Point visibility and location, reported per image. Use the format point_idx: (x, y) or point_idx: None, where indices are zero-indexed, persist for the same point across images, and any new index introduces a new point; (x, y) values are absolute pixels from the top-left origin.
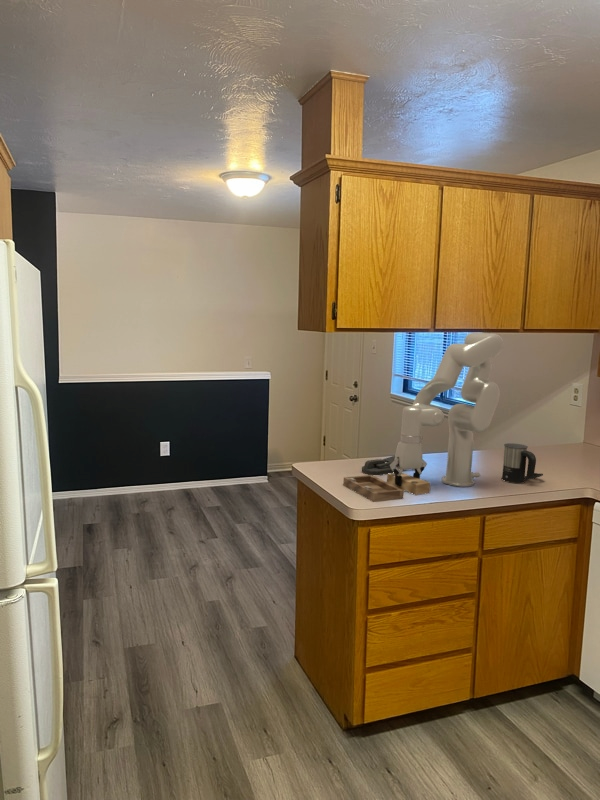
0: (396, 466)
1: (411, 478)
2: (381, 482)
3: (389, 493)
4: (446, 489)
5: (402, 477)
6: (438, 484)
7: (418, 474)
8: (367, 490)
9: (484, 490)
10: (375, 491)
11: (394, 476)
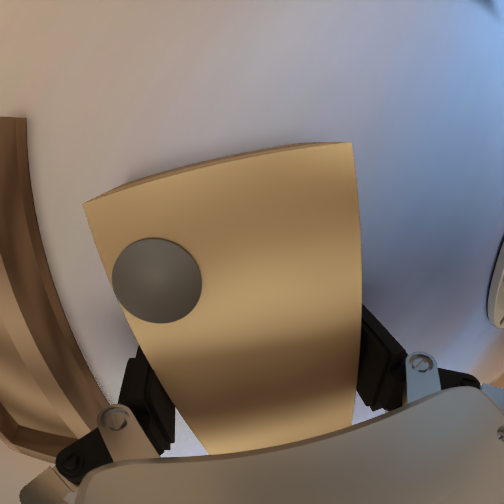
0: (125, 469)
1: (294, 401)
2: (19, 345)
3: None
4: (436, 353)
5: (221, 373)
6: (472, 272)
7: (381, 401)
8: None
9: (495, 353)
10: (9, 373)
11: (138, 329)
